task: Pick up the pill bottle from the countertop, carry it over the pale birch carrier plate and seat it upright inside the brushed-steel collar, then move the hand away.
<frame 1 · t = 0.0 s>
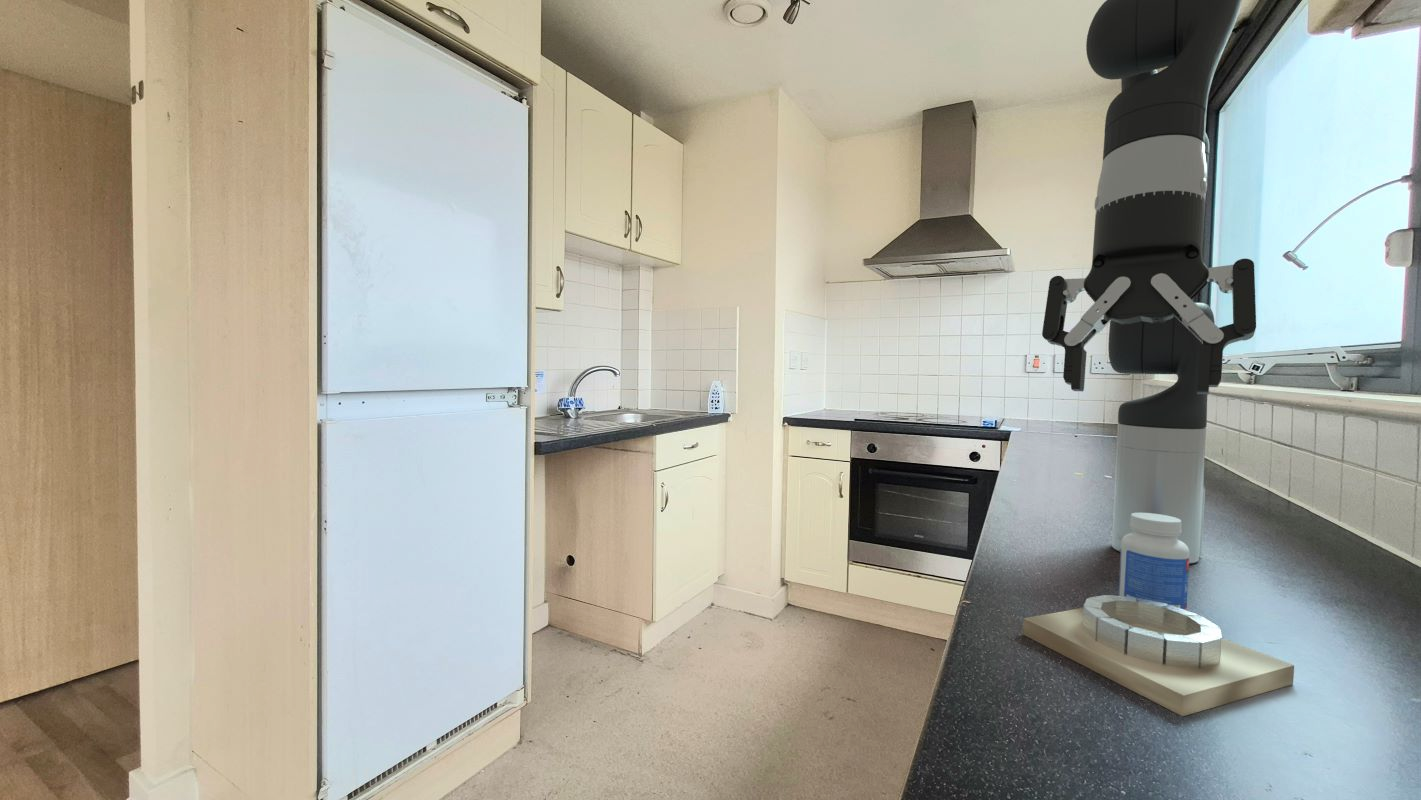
hand: (1136, 391, 48), 22 cm above the counter, tool pointing down, fingers open, 8 cm apart
steel collar: (1148, 628, 48), on the carrier plate, point 2 cm above the counter
pill bottle: (1151, 615, 57), on the counter
carrier plate: (1146, 657, 48), on the counter
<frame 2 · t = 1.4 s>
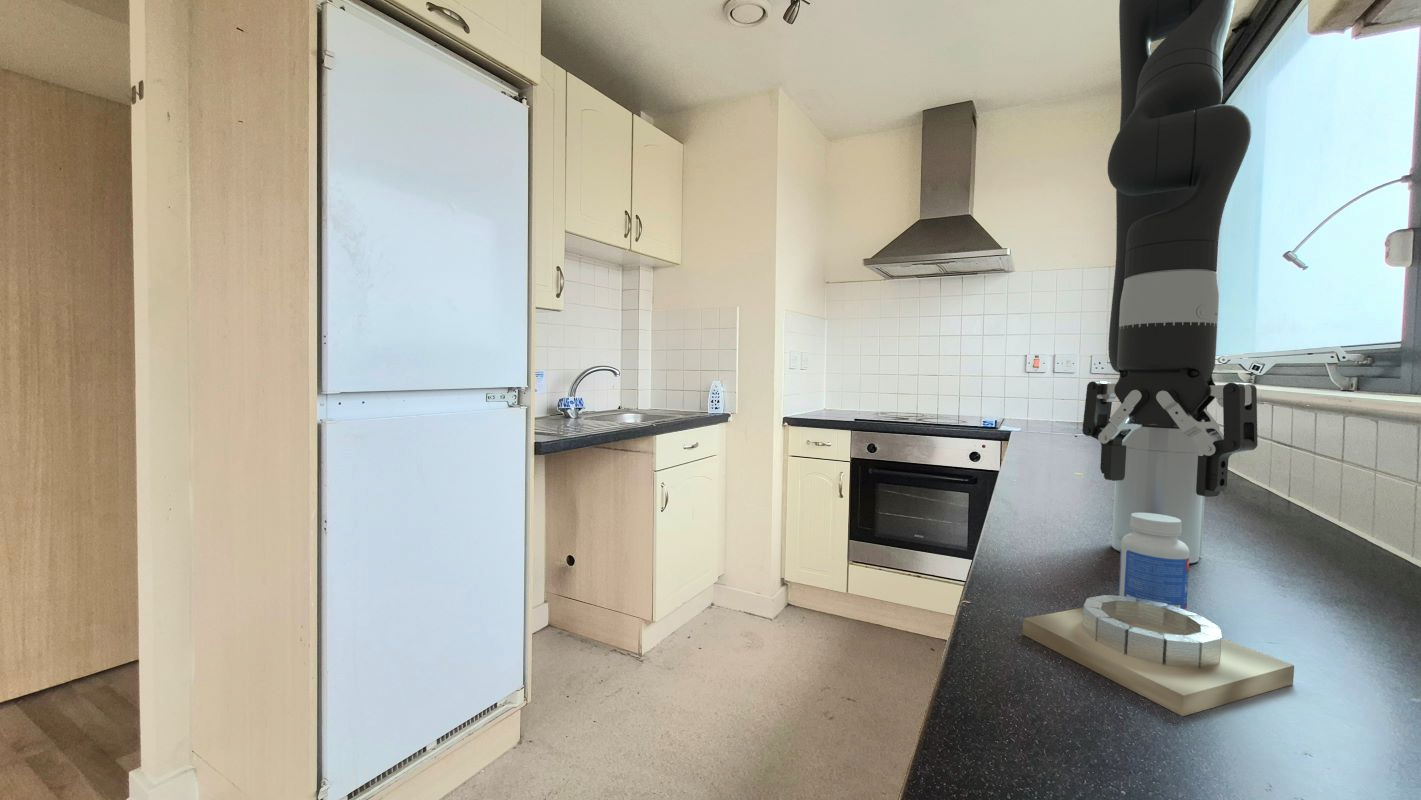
hand: (1157, 487, 56), 13 cm above the counter, tool pointing down, fingers open, 8 cm apart
nothing on the counter moved.
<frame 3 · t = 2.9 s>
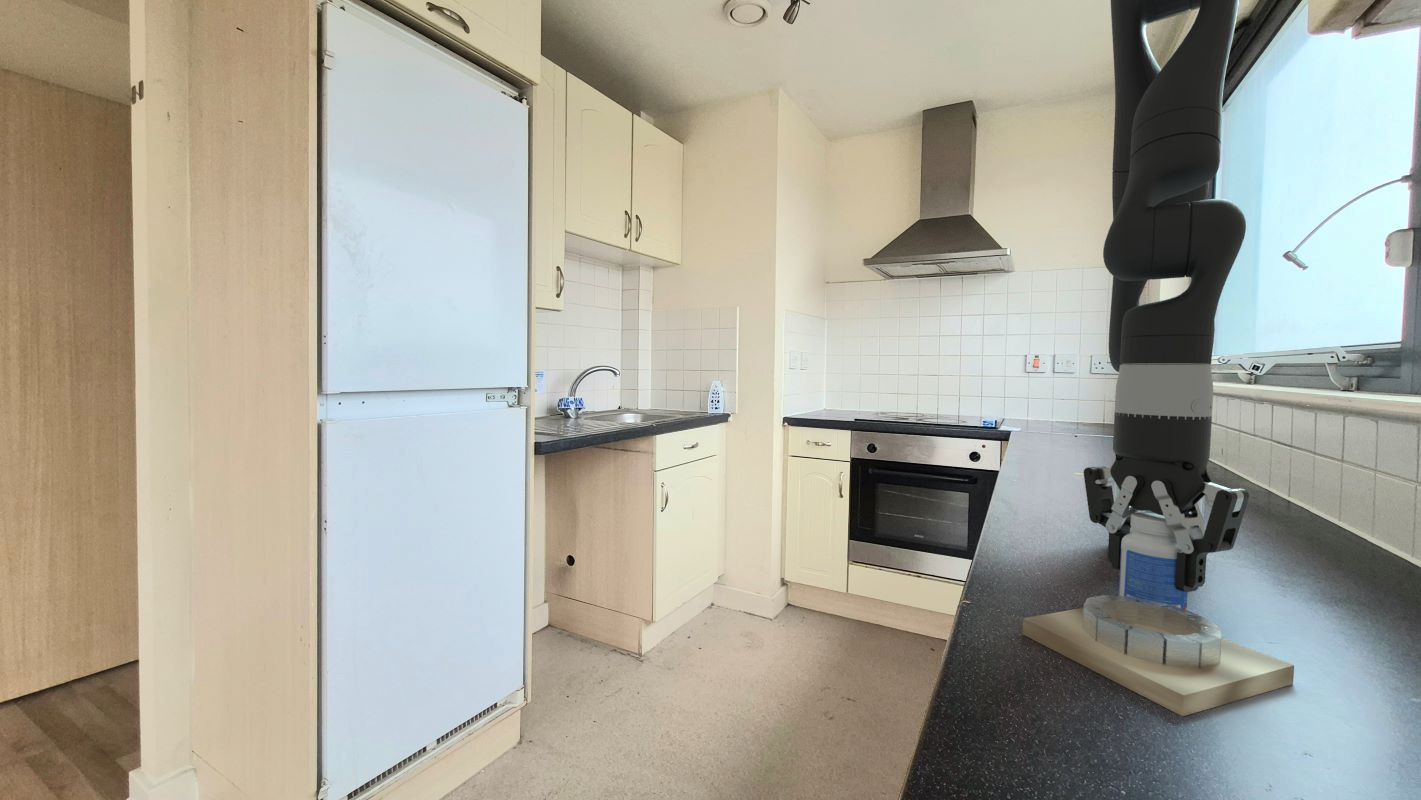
hand: (1152, 578, 57), 4 cm above the counter, tool pointing down, fingers closed on pill bottle, 5 cm apart
pill bottle: (1151, 615, 57), on the counter, touching gripper
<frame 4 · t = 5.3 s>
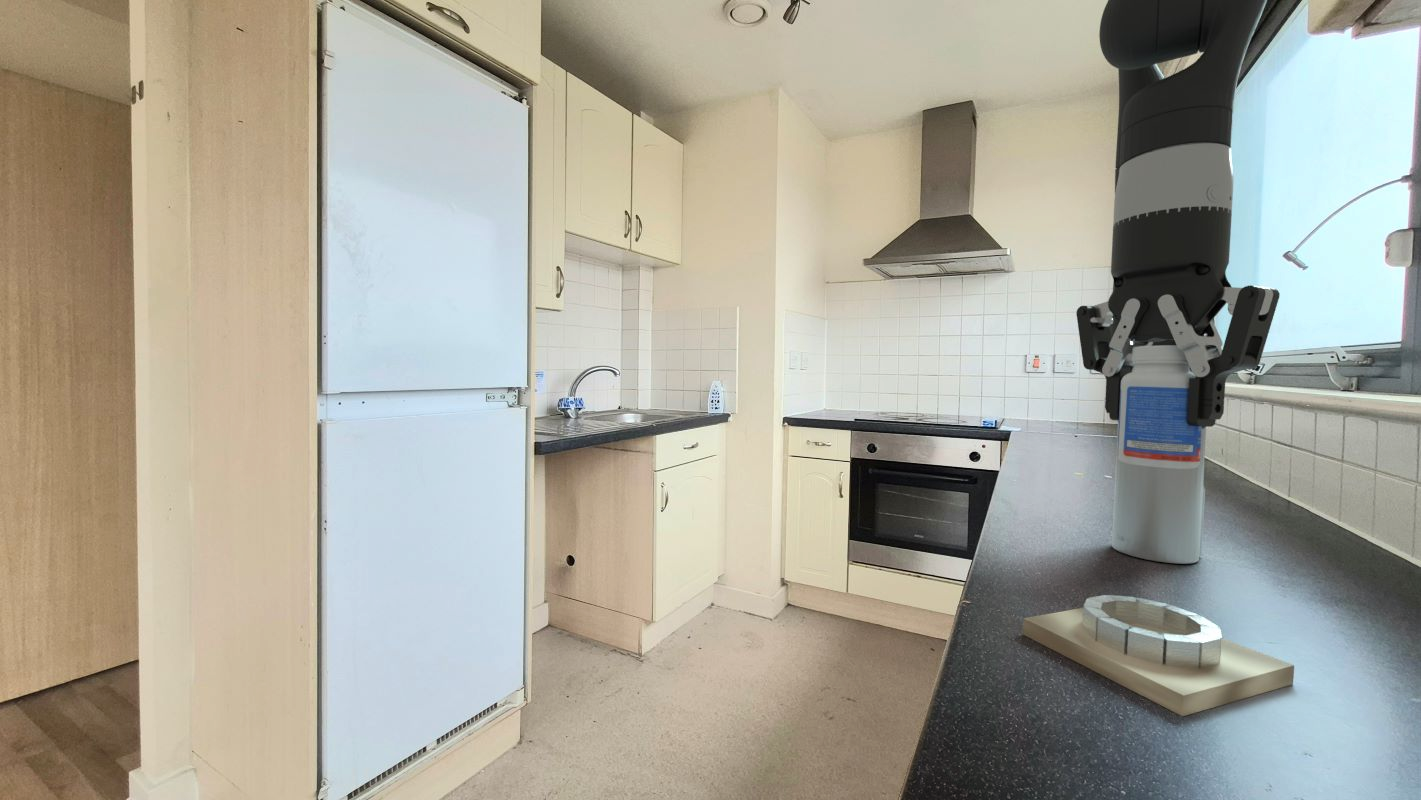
hand: (1158, 422, 47), 20 cm above the counter, tool pointing down, fingers closed on pill bottle, 5 cm apart
pill bottle: (1156, 467, 47), point 16 cm above the counter, touching gripper
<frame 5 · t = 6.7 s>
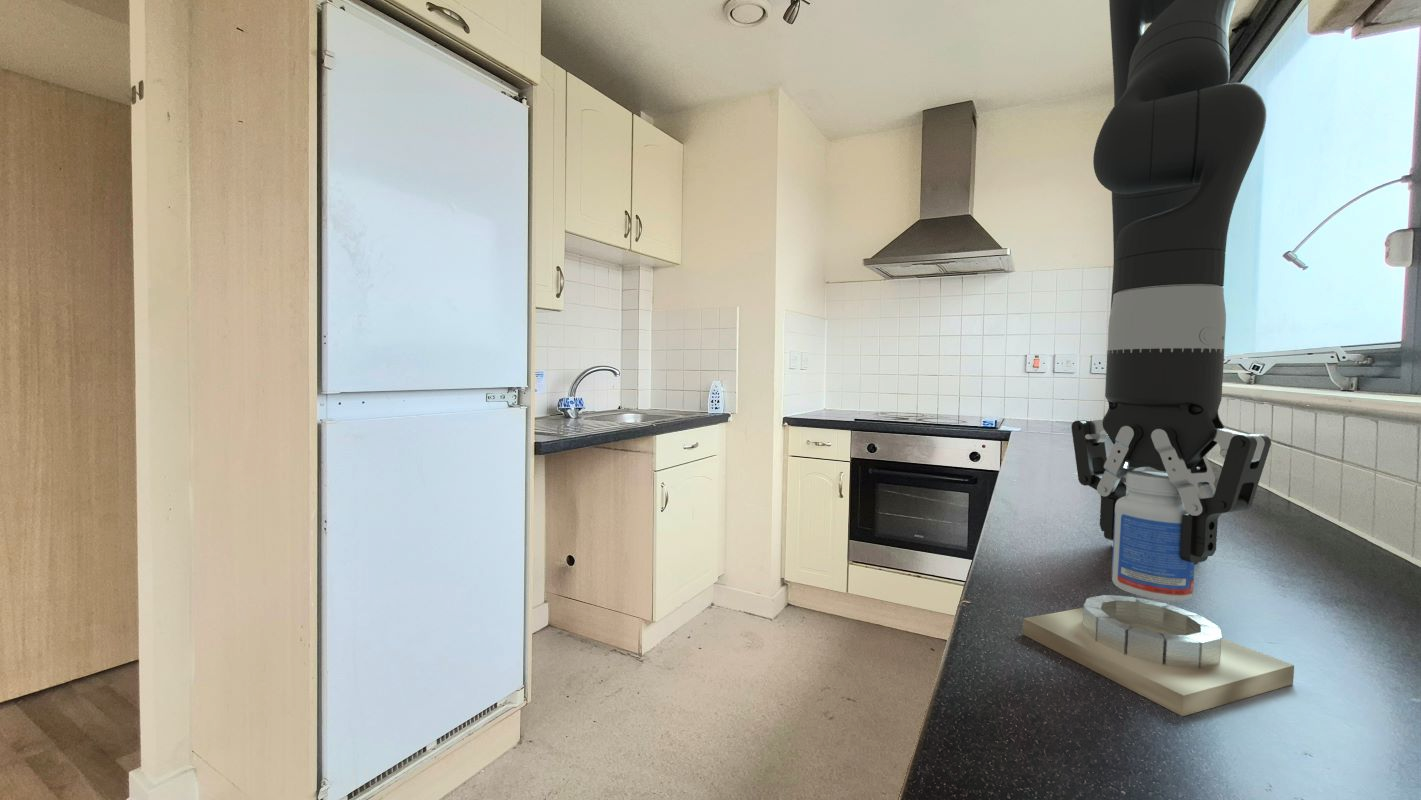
hand: (1152, 548, 47), 9 cm above the counter, tool pointing down, fingers closed on pill bottle, 5 cm apart
pill bottle: (1150, 592, 47), point 6 cm above the counter, touching gripper
when the fingers open (6 cm above the counter, at t = 7.8 s): pill bottle stays where it is, resting on carrier plate.
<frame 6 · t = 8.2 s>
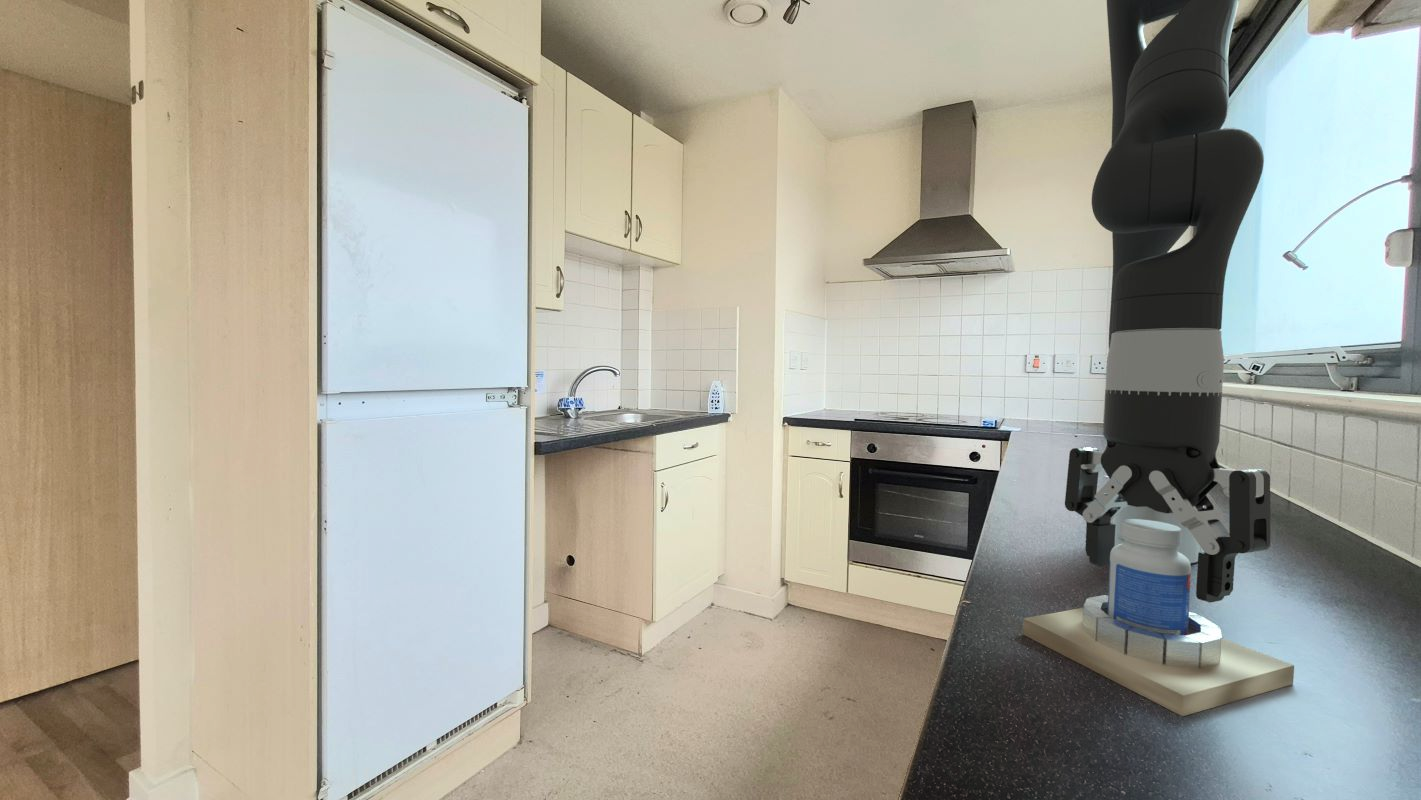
hand: (1150, 580, 47), 7 cm above the counter, tool pointing down, fingers open, 8 cm apart
pill bottle: (1145, 641, 48), point 1 cm above the counter, touching carrier plate
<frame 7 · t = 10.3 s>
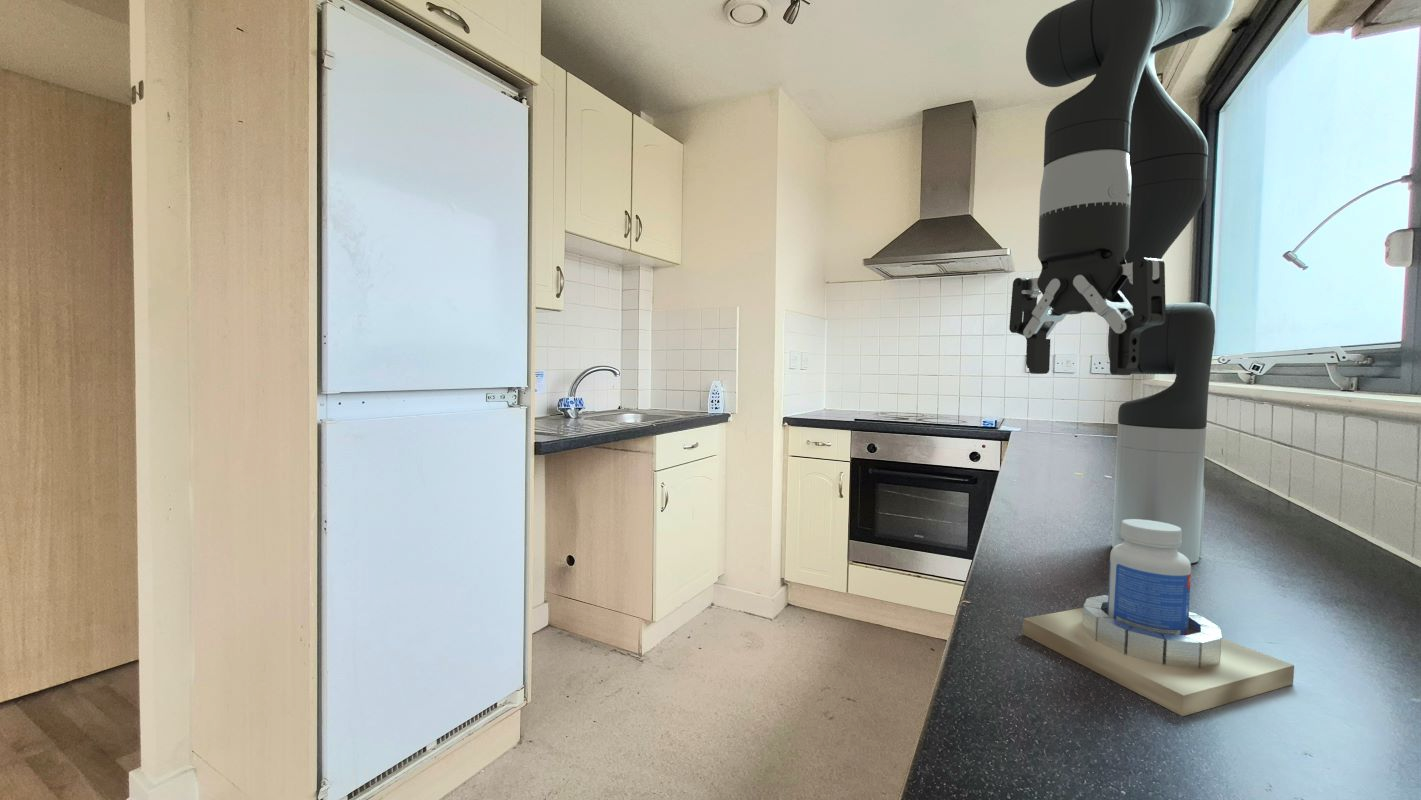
hand: (1077, 374, 57), 24 cm above the counter, tool pointing down, fingers open, 8 cm apart
nothing on the counter moved.
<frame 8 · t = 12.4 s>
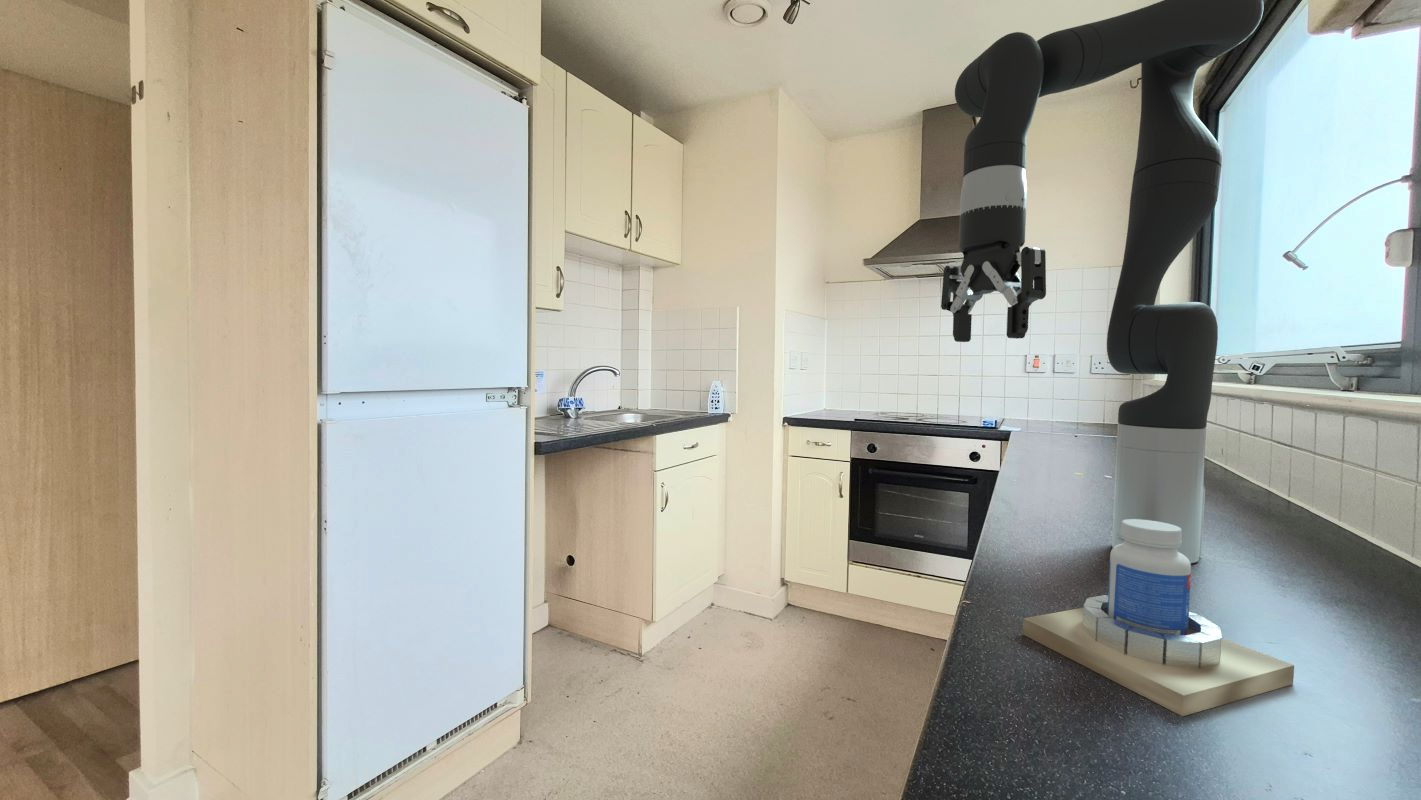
hand: (987, 340, 72), 28 cm above the counter, tool pointing down, fingers open, 8 cm apart
nothing on the counter moved.
at the end: pill bottle 0.2 cm off-centre on the carrier plate, point 1.3 cm above the carrier plate's base; pill bottle tilted 0°; the gripper is holding nothing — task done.
